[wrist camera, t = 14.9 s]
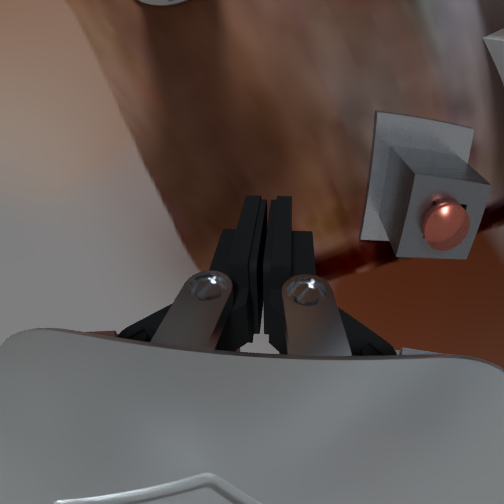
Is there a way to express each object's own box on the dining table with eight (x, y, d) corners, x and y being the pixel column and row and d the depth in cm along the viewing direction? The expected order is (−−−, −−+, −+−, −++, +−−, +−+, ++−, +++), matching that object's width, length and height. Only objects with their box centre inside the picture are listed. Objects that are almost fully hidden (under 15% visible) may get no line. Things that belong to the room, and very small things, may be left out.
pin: (404, 166, 34) (433, 203, 26) (442, 171, 33) (476, 208, 26) (396, 206, 37) (419, 249, 30) (432, 209, 36) (460, 251, 29)
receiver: (375, 110, 32) (402, 132, 24) (470, 127, 30) (512, 154, 22) (359, 235, 43) (372, 283, 35) (442, 239, 41) (467, 283, 33)
